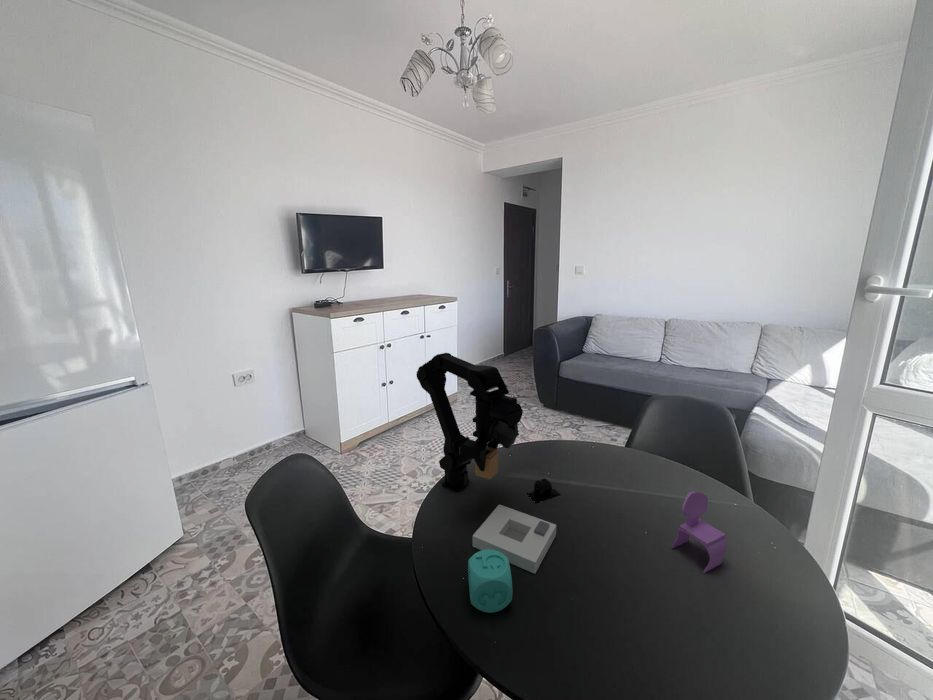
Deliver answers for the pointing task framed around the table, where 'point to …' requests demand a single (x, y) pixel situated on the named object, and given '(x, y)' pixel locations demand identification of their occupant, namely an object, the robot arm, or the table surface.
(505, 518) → the socket plate
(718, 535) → the toy chair
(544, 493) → the black angular piece
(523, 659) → the table surface
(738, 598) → the table surface
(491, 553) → the decorative dice
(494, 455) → the brown block
